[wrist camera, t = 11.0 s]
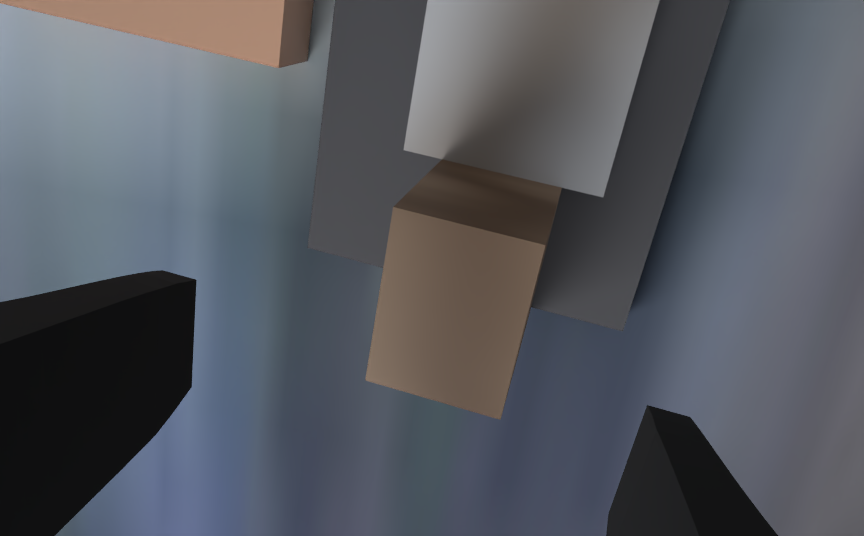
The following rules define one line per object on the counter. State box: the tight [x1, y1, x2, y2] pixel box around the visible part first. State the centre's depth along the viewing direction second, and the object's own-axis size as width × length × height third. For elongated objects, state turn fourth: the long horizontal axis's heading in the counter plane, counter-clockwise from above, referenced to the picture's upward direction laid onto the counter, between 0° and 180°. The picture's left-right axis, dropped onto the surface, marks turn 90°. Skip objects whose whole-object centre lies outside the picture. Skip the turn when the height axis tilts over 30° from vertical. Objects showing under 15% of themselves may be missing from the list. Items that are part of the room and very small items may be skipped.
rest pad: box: [308, 0, 730, 331], centre depth 18 cm, size 9×12×1 cm
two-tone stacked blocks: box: [365, 0, 660, 419], centre depth 15 cm, size 5×12×5 cm, turn 170°
